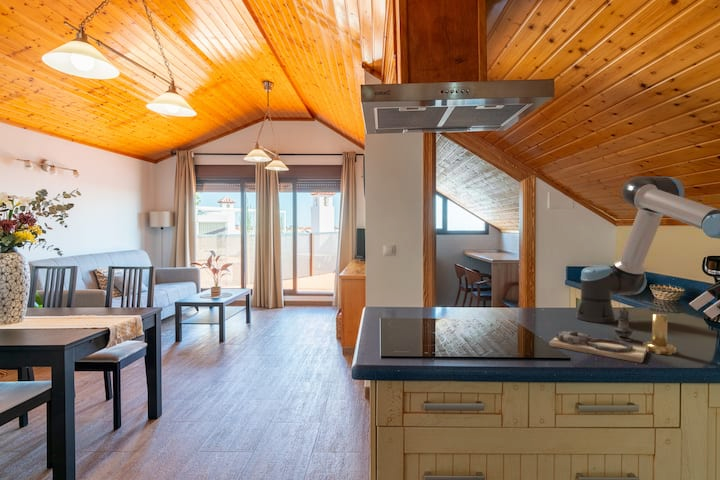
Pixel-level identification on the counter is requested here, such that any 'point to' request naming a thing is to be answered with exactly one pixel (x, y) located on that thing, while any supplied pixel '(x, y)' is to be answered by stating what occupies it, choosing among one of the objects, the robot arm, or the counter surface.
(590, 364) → the counter surface
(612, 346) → the gear board
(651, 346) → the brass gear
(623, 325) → the stone chess piece
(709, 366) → the counter surface
